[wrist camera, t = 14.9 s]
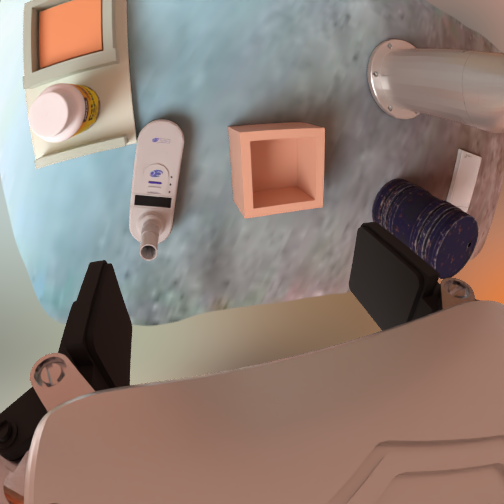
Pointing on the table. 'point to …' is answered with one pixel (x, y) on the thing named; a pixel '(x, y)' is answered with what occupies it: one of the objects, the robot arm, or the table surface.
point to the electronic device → (155, 184)
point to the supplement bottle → (64, 111)
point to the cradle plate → (70, 31)
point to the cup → (277, 167)
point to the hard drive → (463, 179)
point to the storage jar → (427, 225)
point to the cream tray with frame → (84, 83)
